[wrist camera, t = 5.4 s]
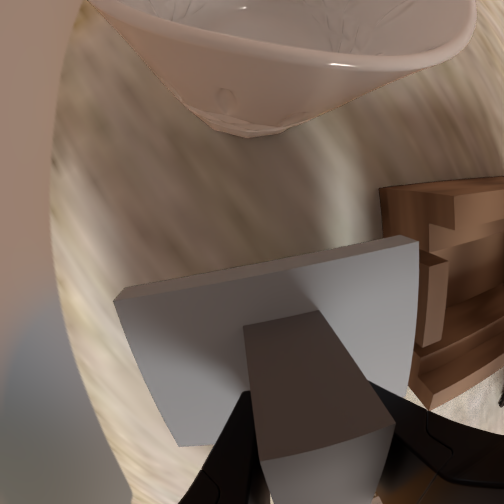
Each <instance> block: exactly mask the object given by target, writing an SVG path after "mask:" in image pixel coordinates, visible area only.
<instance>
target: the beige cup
mask: <svg viewBox="0 0 504 504" xmlns="http://www.w3.org/2000/svg"><path fill="white" fill-rule="evenodd" d="M87 1H88V2H89V3H90V4H91V5H92V6H93V7H94V8H95V9H96V10H97V11H98V12H99V13H100V14H101V15H102V16H103V17H104V18H105V19H106V20H107V21H108V22H109V24H110V25H111V26H112V27H113V28H114V29H115V30H116V31H117V32H118V33H119V34H120V35H121V37H122V38H123V39H124V40H125V41H126V42H127V43H128V44H129V46H130V47H131V48H132V49H133V50H134V51H135V52H136V54H137V55H138V56H139V57H140V58H141V59H142V60H143V62H144V63H145V64H146V65H147V66H148V67H149V69H150V70H151V71H152V72H153V73H154V74H155V76H156V77H157V78H158V79H159V80H160V81H161V82H162V83H163V84H164V86H165V87H166V88H167V89H168V90H169V91H170V92H171V93H172V94H173V95H174V96H175V97H176V98H177V99H178V100H179V101H180V102H181V103H182V104H183V105H184V106H185V107H186V108H188V110H189V111H191V112H192V113H193V114H195V115H196V116H197V117H198V118H200V119H201V120H202V121H203V122H205V123H206V124H207V125H208V126H210V127H211V128H212V129H213V130H216V131H221V132H225V133H229V134H232V135H236V136H240V137H244V138H252V137H258V136H265V135H273V134H280V133H282V132H283V131H285V130H287V129H288V128H290V127H293V126H297V125H300V124H302V123H305V122H307V121H309V120H311V119H314V118H316V117H318V116H320V115H322V114H325V113H327V112H329V111H332V110H334V109H336V108H338V107H341V106H343V105H345V104H346V103H348V102H351V101H353V100H355V99H357V98H359V97H361V96H363V95H365V94H367V93H370V92H372V91H374V90H376V89H378V88H381V87H383V86H385V85H387V84H390V83H392V82H394V81H397V80H399V79H401V78H404V77H406V76H409V75H411V74H414V73H416V72H419V71H422V70H424V69H427V68H430V67H432V66H435V65H438V64H441V63H443V62H445V61H447V60H449V59H451V58H453V57H454V56H456V55H457V54H459V53H460V52H461V51H462V50H463V49H464V48H465V47H466V46H467V44H468V43H469V42H470V40H471V38H472V36H473V34H474V31H475V27H476V21H477V6H476V0H87Z"/></svg>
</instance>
